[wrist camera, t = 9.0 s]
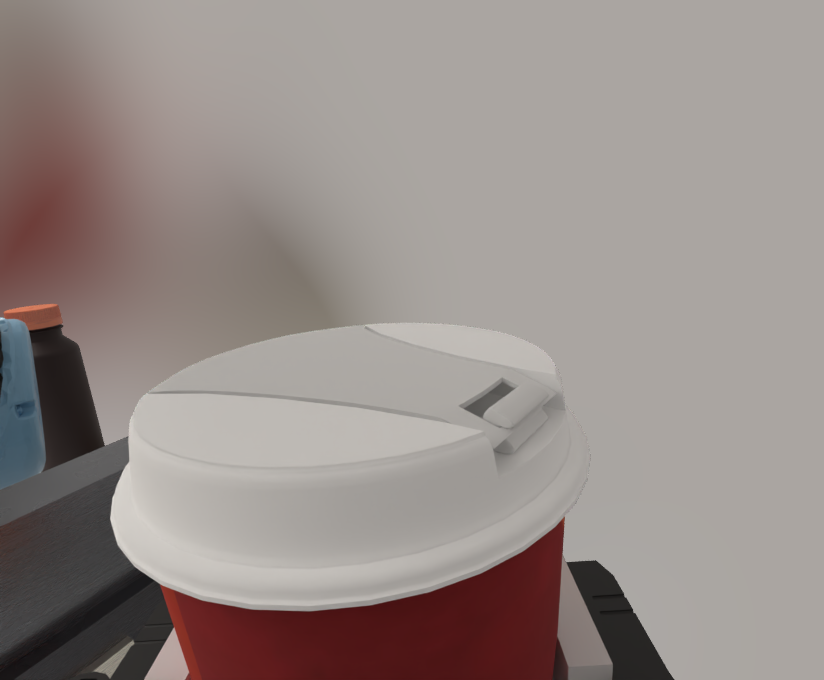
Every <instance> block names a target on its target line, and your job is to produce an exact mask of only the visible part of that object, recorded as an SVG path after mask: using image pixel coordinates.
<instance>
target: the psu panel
mask: <svg viewBox="0 0 824 680" xmlns="http://www.w3.org/2000/svg"><path fill="white" fill-rule="evenodd" d="M128 437H129V436H128ZM128 437H126V438H123V439H121V440H118V441H116V442H114V443H111V444H109V445H106V446H104V447H102V448H99V449H97V450H94V451H92V452H90V453H87V454H85V455H82V456H80V457H78V458H75V459H73V460H70V461H68V462H66V463H63V464H61V465H58V466H56V467H54V468H51V469H49V470H46V471H44V472H42V473H39V474H37V475H34V476H32V477H30V478H27V479H25V480H22V481H20V482H18V483H15V484H13V485H11V486H8V487H6V488H3V489H1V490H0V680H68V679H70V678H72V677H74V676H77V675H79V674H83V673H89V672H94V671H95V672H100V673H104V674H107V676H108V677H109V678H111V676H112V675H113V673H114V672H115V670H116V669H117V667H118V666H119V664H120V662H121V661H122V659H123V658H124V656H125V655H126V653H127V652H128V650H129V649H130V647H131V646H132V645H134V641H135V639H136V638H137V636H138V635H139V633H140V632H141V630H142V629H144V628H145V624H146V622H147V621H148V619H149V618H150V616H151V615H152V613H153V612H154V610H155V609H156V607H157V605H158V604H160V603H161V602H162V601H163V600H164V599H165V598H164V595H163V592H162V589H161V586H160V584H159V583H158V582H156V581H155V580H153V579H152V578H150V577H149V576H147V575H146V574H145V573H143V572H142V571H140V570H139V569H137V568H136V567H134V566H133V564H132V563H131V562H130V561H129V559H128V558H127V557H126V555H125V554H124V553H123V551H122V550H121V549H120V548H119V546H118V545H117V541H116V538H115V534H114V531H113V528H112V524H111V521H110V516H111V506H112V498H113V495H114V493H115V490H116V486H117V484H118V481H119V479H120V477H121V475H122V472H123V470H124V468H125V466H126V465H127V464H128V463H129V444H128Z"/></svg>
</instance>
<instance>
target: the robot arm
mask: <svg viewBox="0 0 824 680" xmlns="http://www.w3.org/2000/svg"><path fill="white" fill-rule="evenodd" d="M45 462H46V452H45V441H44V432H43V424H42V416H41V408H40V400H39V393H38V386H37V379H36V372H35V365H34V358H33V352H32V345H31V340H30V334H29V330H28V327H27V326H26V324H25V323H24V322H23V321H20V320H18V319H5V318H2V317H0V490H1V489H3V488H6V487H8V486H11V485H13V484H15V483H18V482H20V481H22V480H25V479H27V478H30V477H32V476H34V475H37V474H39V473H41V472H42V470H43V468H44V466H45ZM68 680H191V677H190V674H189V670H188V667H187V664H186V661H185V658H184V655H183V652H182V649H181V646H180V643H179V640H178V637H177V634H176V631H175V628H174V625H173V622H172V619H171V616H170V613H169V610H168V607H167V604H166V601H165V599H164V600H163V601H162V602H161V603H160V604H158V605H157V607H156V609H155V610H154V612H153V613H152V615H151V616H150V618H149V619H148V621H147V622H146V624H145V628H144V629H142V630H141V632H140V633H139V635H138V636H137V638H136V639H135V641H134V645H132V646H131V647H130V649H129V650H128V652H127V653H126V655H125V656H124V658H123V659H122V661H121V662H120V664H119V666H118V667H117V669H116V670H115V672H114V673H113V675H112V676H111V678H109V677H108V676H107V674H104V673H100V672H95V671H94V672H89V673H83V674H79V675H77V676H74V677H72V678H70V679H68ZM552 680H674V679H673V677H672V676H671V674H670V673H669V671H668V670H667V668H666V666H665V664H664V663H663V661H662V659H661V657H660V656H659V654H658V652H657V651H656V649H655V647H654V645H653V644H652V642H651V640H650V638H649V637H648V635H647V633H646V631H645V630H644V628H643V626H642V624H641V623H640V621H639V619H638V617H637V616H636V614H635V613H633V609H632V607H631V605H630V604H629V602H628V600H627V598H625V597H624V593H623V591H622V590H621V588H620V586H619V584H618V583H617V581H616V580H615V578H614V576H613V575H612V574H611V573H610V572H609V571H608V570H606V569H605V568H604V567H603V566H602V565H601V564H599V563H598V562H597V561H596V560H595V561H579V562H566V561H565V559H564V557H563V554H562V570H561V586H560V603H559V619H558V634H557V643H556V652H555V660H554V669H553V678H552Z"/></svg>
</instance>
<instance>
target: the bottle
mask: <svg viewBox="0 0 824 680" xmlns="http://www.w3.org/2000/svg"><path fill="white" fill-rule="evenodd" d="M4 316H5V319H18V320H20V321H23V322H24V323H25V324H26V326H27V327H28V330H29V334H30V340H31V345H32V352H33V358H34V365H35V372H36V379H37V386H38V393H39V400H40V408H41V416H42V424H43V432H44V441H45V452H46V462H45V466H44V468H43V470H42V472H44V471H46V470H49V469H51V468H54V467H56V466H58V465H61V464H63V463H66V462H68V461H70V460H73V459H75V458H78V457H80V456H82V455H85V454H87V453H90V452H92V451H94V450H97V449H99V448H102V447H104V446H105V445H104V442H103V437H102V433H101V429H100V426H99V422H98V418H97V414H96V410H95V406H94V402H93V399H92V395H91V391H90V387H89V384H88V379H87V376H86V371H85V368H84V364H83V360H82V356H81V352H80V348H79V346H78V344H77V343H75V342H74V341H72V340H70V339H69V338H67V337H65V336H63V335H62V331H61V328H62V327H63V325H61V323H63V322H62V318H61V314H60V310H59V306H58V305H56V304H45V305H35V306H27V307H21V308H15V309H11V310H7V311H5V312H4ZM42 472H41V473H42Z"/></svg>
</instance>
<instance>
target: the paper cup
mask: <svg viewBox="0 0 824 680" xmlns="http://www.w3.org/2000/svg"><path fill="white" fill-rule="evenodd" d="M147 393H148V394H145V395H144V396H143V397H142V398H141V399H140V401H139V402H138V404H137V406H136V408H135V410H134V414H133V415H132V417H131V419H130V424H129V437H128V444H129V463H128V464H127V465H126V466H125V468H124V470H123V472H122V475H121V477H120V479H119V481H118V484H117V486H116V490H115V493H114V495H113V498H112V506H111V516H110V521H111V524H112V528H113V531H114V534H115V538H116V541H117V545H118V546H119V548H120V549H121V550H122V551H123V553H124V554H125V555H126V557H127V558H128V559H129V561H130V562H131V563H132V564H133V566H134V567H136V568H137V569H139V570H140V571H142V572H143V573H145V574H146V575H147V576H149V577H150V578H152V579H153V580H155V581H156V582H158V583H159V584H160V586H161V589H162V592H163V595H164V598H165V601H166V604H167V607H168V610H169V613H170V616H171V619H172V622H173V625H174V628H175V631H176V634H177V637H178V640H179V643H180V646H181V649H182V652H183V655H184V658H185V661H186V664H187V667H188V670H189V674H190V677H191V680H552V678H553V669H554V660H555V652H556V643H557V634H558V619H559V603H560V586H561V570H562V553H563V537H564V520H565V515H566V514H567V513H568V512H569V510H570V509H571V508H572V507H573V506H574V505H575V504H576V502H577V500H578V498H579V496H580V494H581V492H582V490H583V488H584V486H585V484H586V482H587V479H588V472H589V465H590V451H589V446H588V441H587V437H586V435H585V433H584V431H583V430H582V428H581V426H580V424H579V422H578V420H577V419H576V417H575V415H574V413H573V412H572V411H571V410H570V409H569V408H568V407H567V406H566V405H565V400H564V394H563V386H562V380H561V376H560V373H559V371H558V369H557V368H556V366H555V365H554V363H553V361H552V360H551V358H550V356H549V355H548V354H546V353H545V352H544V351H543V350H542V349H541V348H539V347H538V346H536V345H534V344H532V343H530V342H528V341H526V340H524V339H521V338H518V337H516V336H513V335H510V334H505V333H502V332H498V331H494V330H488V329H483V328H477V327H470V326H462V325H451V324H436V323H387V324H369V325H365V328H364V325H357V326H348V327H340V328H333V329H325V330H317V331H310V332H304V333H299V334H293V335H288V336H283V337H279V338H274V339H270V340H266V341H262V342H258V343H254V344H251V345H247V346H243V347H240V348H237V349H234V350H231V351H227V352H224V353H221V354H218V355H216V356H213V357H210V358H208V359H205V360H202V361H200V362H198V363H196V364H194V365H191V366H189V367H187V368H185V369H183V370H181V371H180V372H178V373H176V374H175V375H173V376H171V377H170V378H168V379H166V380H165V381H163V382H162V383H160V384H159V385H157V386H156V387H155V388H153V389H152V390H150V391H148V392H147Z"/></svg>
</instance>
